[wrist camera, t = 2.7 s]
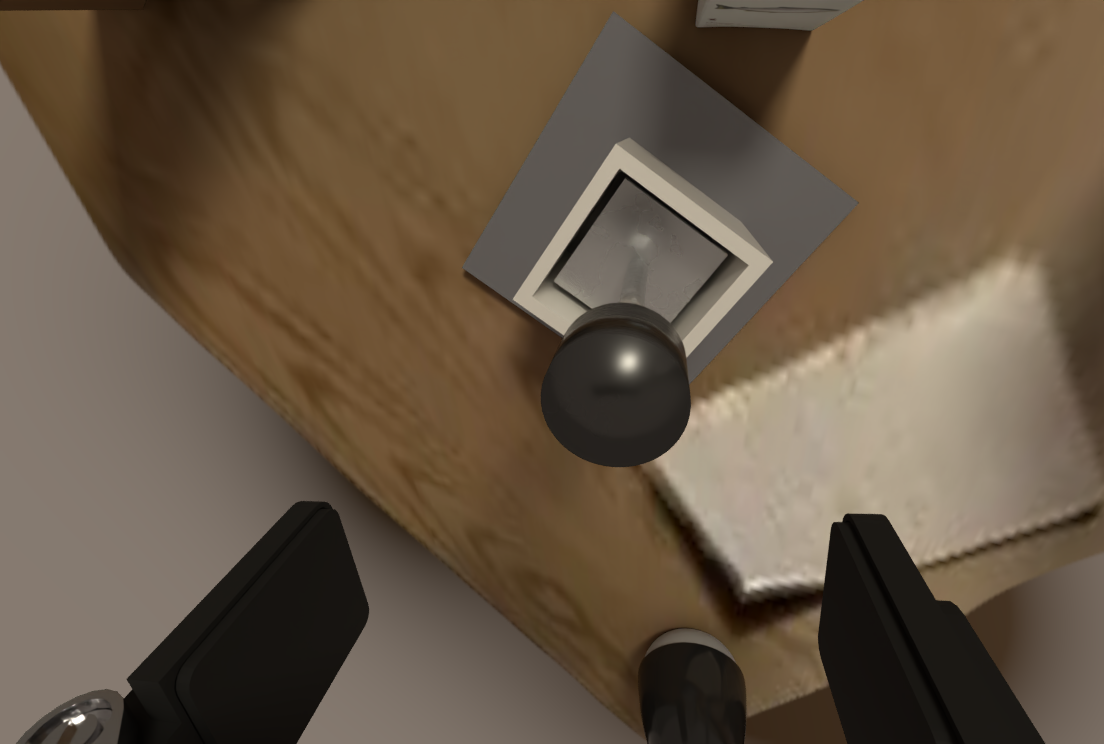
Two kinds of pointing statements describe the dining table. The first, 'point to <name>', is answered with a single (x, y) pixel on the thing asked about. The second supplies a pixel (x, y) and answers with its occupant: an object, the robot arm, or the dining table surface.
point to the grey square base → (657, 191)
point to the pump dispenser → (691, 691)
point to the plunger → (627, 333)
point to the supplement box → (770, 13)
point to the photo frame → (71, 5)
